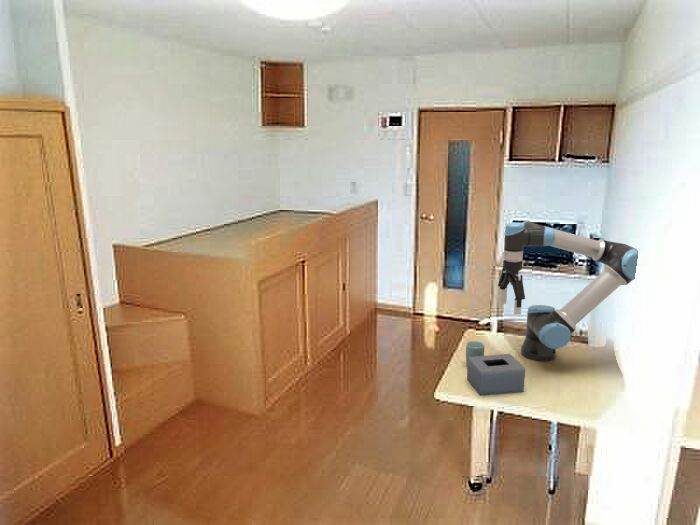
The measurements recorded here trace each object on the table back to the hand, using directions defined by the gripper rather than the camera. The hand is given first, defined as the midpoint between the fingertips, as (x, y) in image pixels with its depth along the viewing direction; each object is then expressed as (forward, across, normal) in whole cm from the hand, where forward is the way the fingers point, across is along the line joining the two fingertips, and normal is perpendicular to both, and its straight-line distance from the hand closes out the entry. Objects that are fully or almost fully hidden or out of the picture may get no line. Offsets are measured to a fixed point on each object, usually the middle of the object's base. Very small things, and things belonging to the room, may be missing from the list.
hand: (509, 308), depth 218 cm
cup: (+27, -4, -13) cm, 30 cm away
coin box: (+27, +15, -12) cm, 33 cm away
